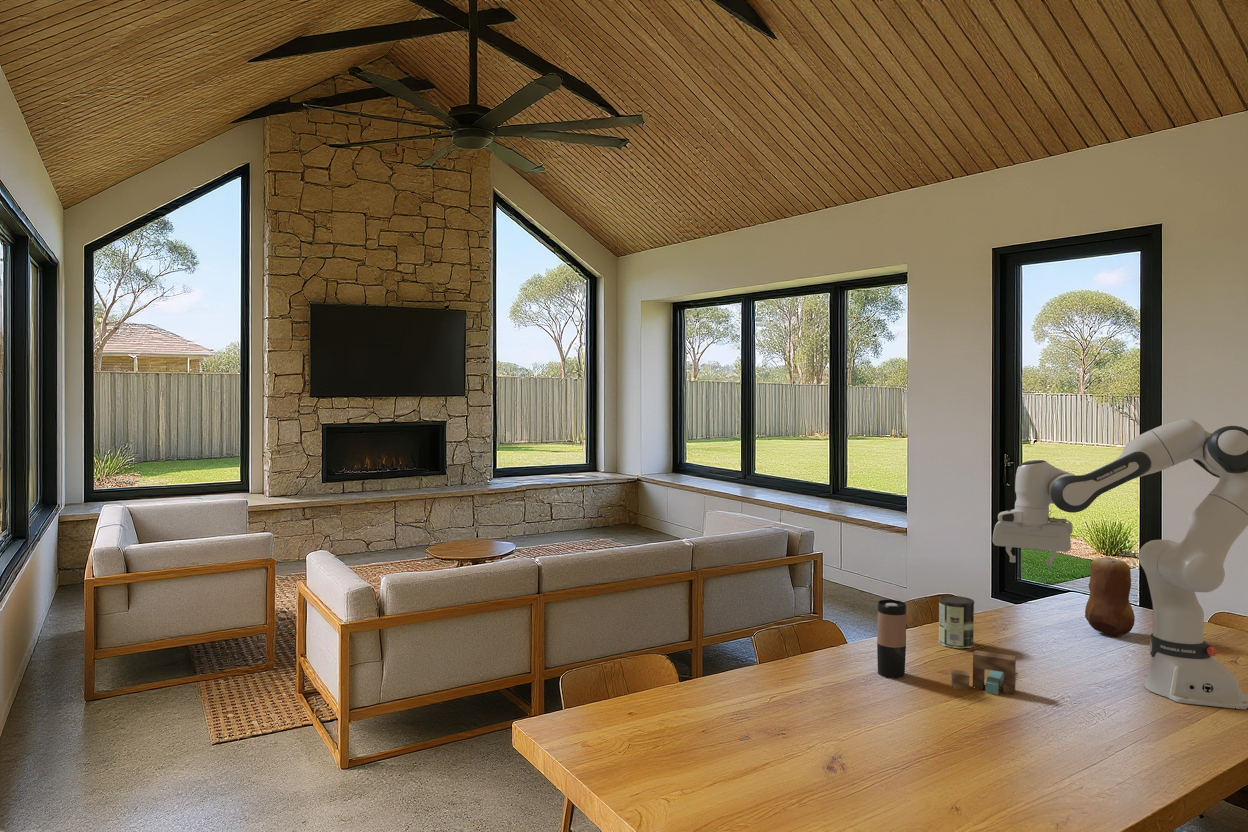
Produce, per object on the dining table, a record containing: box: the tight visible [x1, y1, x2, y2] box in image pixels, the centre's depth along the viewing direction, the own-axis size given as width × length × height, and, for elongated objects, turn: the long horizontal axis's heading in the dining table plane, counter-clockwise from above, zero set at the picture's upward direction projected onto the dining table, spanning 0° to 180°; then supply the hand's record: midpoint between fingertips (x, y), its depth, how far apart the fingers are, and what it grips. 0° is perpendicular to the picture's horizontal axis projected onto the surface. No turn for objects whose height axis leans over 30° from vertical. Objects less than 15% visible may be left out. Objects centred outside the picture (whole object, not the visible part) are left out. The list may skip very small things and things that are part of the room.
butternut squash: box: [1084, 556, 1136, 638], centre depth 263 cm, size 14×13×25 cm
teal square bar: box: [984, 670, 1004, 695], centre depth 220 cm, size 3×22×3 cm, turn 149°
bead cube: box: [950, 669, 970, 691], centre depth 216 cm, size 4×4×4 cm
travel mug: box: [876, 599, 907, 679], centre depth 225 cm, size 8×8×20 cm
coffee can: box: [938, 595, 975, 649], centre depth 252 cm, size 10×10×14 cm
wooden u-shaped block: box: [972, 649, 1017, 695], centre depth 214 cm, size 10×4×9 cm, turn 60°
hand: (1030, 564), depth 234 cm, fingers open, 8 cm apart
